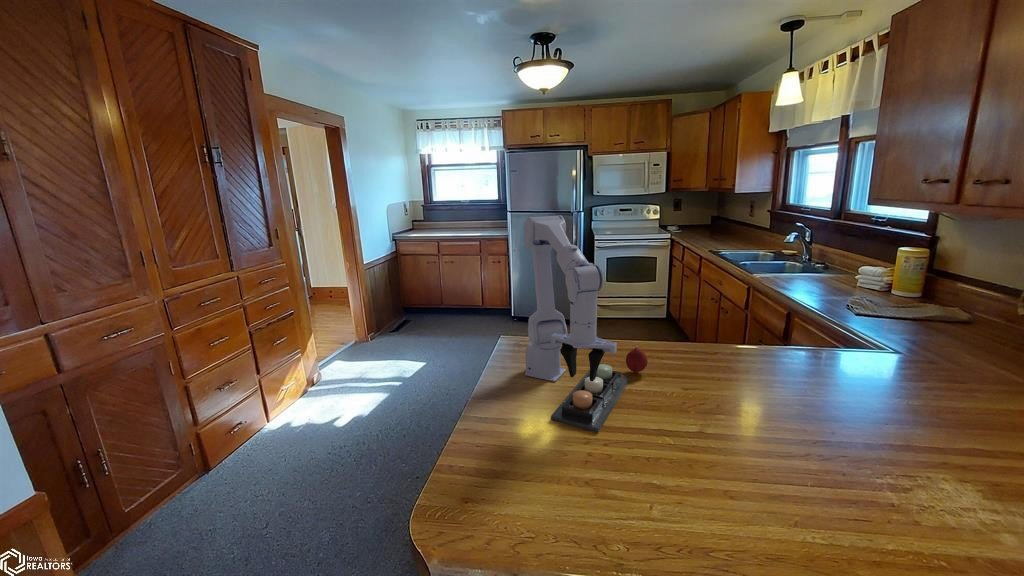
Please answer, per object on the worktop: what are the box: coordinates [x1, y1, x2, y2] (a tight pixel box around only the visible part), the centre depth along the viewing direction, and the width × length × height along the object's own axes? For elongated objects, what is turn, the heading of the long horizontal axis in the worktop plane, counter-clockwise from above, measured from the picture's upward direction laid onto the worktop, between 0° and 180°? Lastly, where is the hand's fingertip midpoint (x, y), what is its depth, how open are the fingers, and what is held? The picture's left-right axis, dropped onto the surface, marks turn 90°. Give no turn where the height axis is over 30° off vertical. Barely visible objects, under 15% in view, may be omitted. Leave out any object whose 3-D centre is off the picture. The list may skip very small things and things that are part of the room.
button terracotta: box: [573, 390, 592, 410], centre depth 94 cm, size 4×4×2 cm
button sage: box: [596, 363, 613, 380], centre depth 108 cm, size 4×4×2 cm
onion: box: [625, 345, 649, 374], centre depth 114 cm, size 6×6×8 cm
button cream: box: [585, 377, 603, 394], centre depth 101 cm, size 4×4×2 cm
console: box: [550, 369, 631, 434], centre depth 102 cm, size 11×27×3 cm, turn 151°
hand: (582, 377), depth 93 cm, fingers open, 4 cm apart
